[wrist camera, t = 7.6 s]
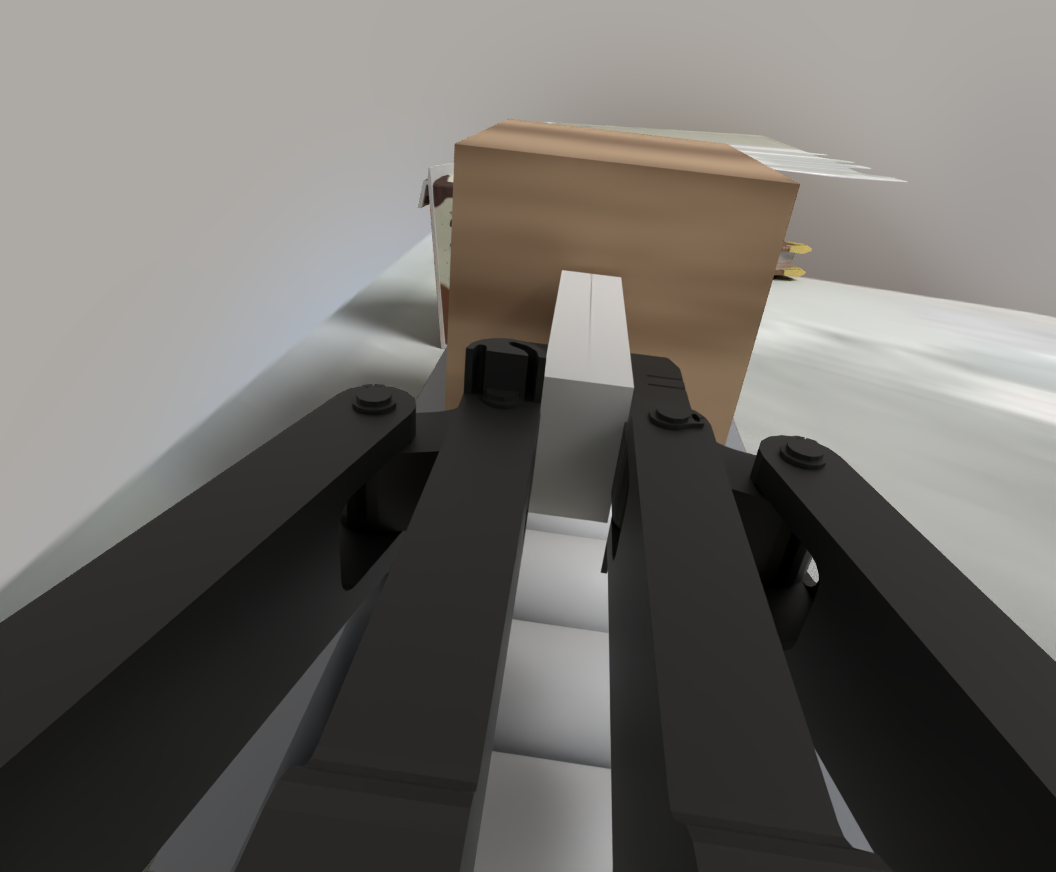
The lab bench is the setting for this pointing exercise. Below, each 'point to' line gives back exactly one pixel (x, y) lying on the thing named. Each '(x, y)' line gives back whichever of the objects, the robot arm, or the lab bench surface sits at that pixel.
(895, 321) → the lab bench surface
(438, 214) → the food container
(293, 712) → the roller bed
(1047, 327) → the lab bench surface
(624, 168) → the wooden block
